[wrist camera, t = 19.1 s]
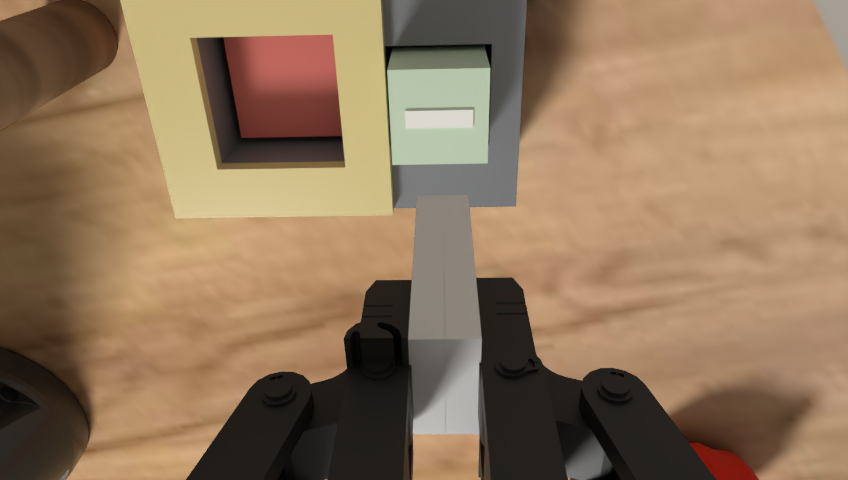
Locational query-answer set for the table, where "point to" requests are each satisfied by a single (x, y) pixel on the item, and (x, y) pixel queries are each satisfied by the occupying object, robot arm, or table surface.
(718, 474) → the tomato
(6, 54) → the rounded rod
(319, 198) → the breaker box
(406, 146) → the on button
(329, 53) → the plunger
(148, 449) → the table surface
